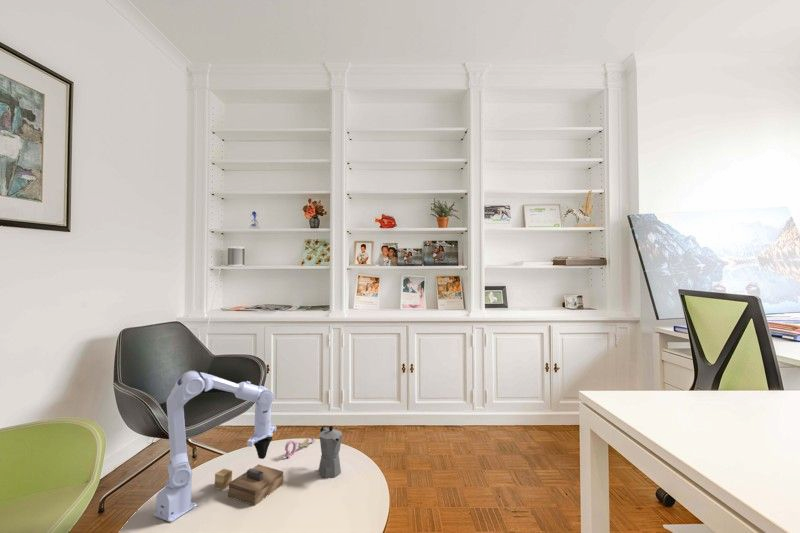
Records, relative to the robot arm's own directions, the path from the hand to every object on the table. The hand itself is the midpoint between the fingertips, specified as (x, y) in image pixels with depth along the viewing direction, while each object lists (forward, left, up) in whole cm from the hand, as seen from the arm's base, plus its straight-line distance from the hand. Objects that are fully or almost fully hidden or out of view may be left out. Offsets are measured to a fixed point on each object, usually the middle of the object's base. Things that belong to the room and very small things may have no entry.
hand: (261, 457), depth 137 cm
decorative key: (+28, +4, -10) cm, 30 cm away
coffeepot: (+18, -17, -10) cm, 27 cm away
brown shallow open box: (-4, -1, -10) cm, 10 cm away
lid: (-4, -1, -6) cm, 7 cm away
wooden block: (-7, +12, -10) cm, 17 cm away
